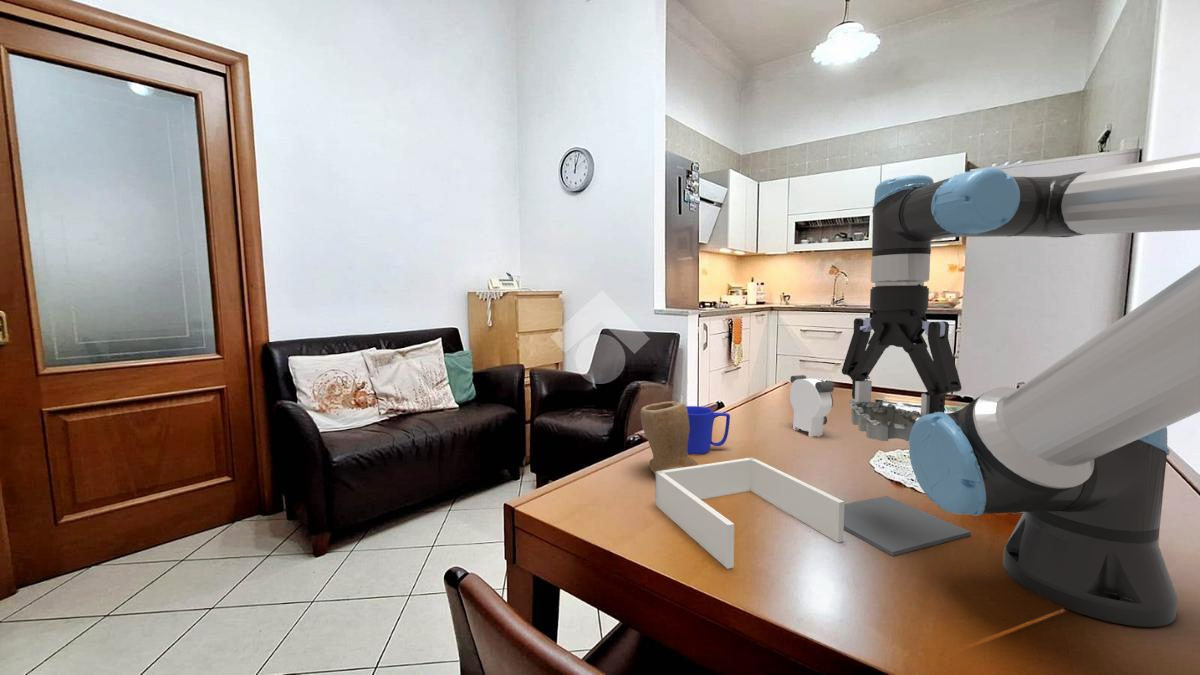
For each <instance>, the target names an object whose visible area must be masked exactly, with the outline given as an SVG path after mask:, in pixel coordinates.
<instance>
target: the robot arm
mask: <svg viewBox="0 0 1200 675" xmlns="http://www.w3.org/2000/svg"><path fill="white" fill-rule="evenodd" d="M873 202H874V203H873V206H872V210H871V212H872V234H871V236H872V237H871V238H872V241H871V242H872V243H871V252H872V254H871V255H872V256H871V266H870V268H871V269H870V282H871V283H872V284H874V286H872V287H871V288H870V292H869V293H870V296H869V298H870V299H869V309H870V310H872V315H871V317H870V318H869V317H859V318H854V320H853V332H852V333H853V334H852V336H851V340H850V343H849V346H848V348H847V349H848V350H847V352H846V356H845V359H844V362H843V365H842V368H841V373H842V374H843V375H844V376H845V375H847V376H848V377H849V378H850V379H851V381H852V382H851V383H852V385H851V397H852V399H853V400H854V401H855V402H862V401H864V402H872V385H873V384H872V383H873V382H872V380H868V379H871V377H870V374H871V372H872V371H873V369H874V368H875V366H876V365H877V363H878V361H879V360H880V358H881V357H882V355H883V354H884V352H885V351H886V349H888V348H889V347H890V346H894V347H897V348H902V350H903V351H905V353H907V354H908V356H909V358H910V360H911V362H912V363H913V366H914V367H915V369H916V372H917V373H918V375H919V378H920V379H921V381H922V384H923V385H924V388H925V389H926V391H925V392H924V393H921V400H920V401H921V402H920V403H921V404H920V413H921V416H922V417H920V418H917V419H916V422H915V423H914V425H913V427H912V429H911V432H910V437H909V441H908V446H909V448H908V449H909V450H908V454H909V460H910V464H911V468H912V471H913V474H914V476H915V479H916V481H917V483H918V485H919V486H920V488H921V489H922V492H924V494H925V495H926V497H927V498H928V499H929V500H930V501H931V502H933V503H934V504H936V505H937V506H938V507H939V509H941V510H944V511H945V512H948V513H949V514H950V513H951V514H955V515H956V514H957V515H969V516H973V517H978V516H979V517H980V516H981V515H990V514H1014V513H1016V514H1017V513H1022V514H1021V517H1020V519H1019V520H1018V522H1017V524H1016V525H1015V526H1014V529H1013V531H1012V533H1011V534H1010V536H1009V538H1008V540H1007V542H1006V544H1005V546H1004V547H1003V555H1002V567H1003V568H1004V570H1005V572H1006V573H1007V574H1008V575H1009V576H1010V577H1011V578H1012V579H1013V581H1014V580H1015V581H1016V582H1017V583H1018V584H1019V585H1021V586H1023V587H1024V588H1026V589H1028V590H1029V591H1031V592H1033V593H1034V594H1036V595H1038V596H1039V597H1043V598H1044V599H1047V600H1049V601H1051V602H1052V603H1055V604H1059V605H1060V606H1063V607H1064V609H1066V610H1069V611H1071V612H1075V613H1077V614H1081V615H1083V616H1084V615H1085V616H1088V617H1090V618H1095V619H1098V620H1100V621H1101V620H1102V621H1105V622H1109V623H1114V624H1121V625H1126V626H1133V627H1145V628H1151V627H1152V628H1153V627H1154V628H1155V627H1163V626H1167V625H1171V624H1172V623H1173V622H1174V621H1175V620H1176V619H1177V611H1178V610H1177V609H1178V595H1177V592H1176V589H1175V586H1174V583H1173V580H1172V578H1171V575H1170V572H1169V569H1168V567H1167V565H1166V564H1167V563H1166V562H1165V558H1164V556H1163V553H1162V551H1161V548H1160V545H1159V542H1160V540H1159V539H1160V527H1161V520H1162V519H1161V518H1162V511H1163V510H1162V509H1163V508H1162V507H1163V499H1164V498H1163V497H1164V489H1165V478H1166V467H1167V456H1169V455H1170V451H1171V450H1170V449H1169V448H1168V427H1169V426H1171V425H1173V424H1176V423H1178V422H1180V421H1182V420H1184V419H1186V418H1189V417H1191V416H1193V415H1196V414H1198V413H1200V264H1199V265H1198V266H1196V267H1194V268H1193V269H1192V270H1189V272H1187V273H1186V274H1184V275H1183V276H1181V277H1180V278H1178V279H1176V280H1175V281H1174V282H1172V283H1171V284H1170V285H1168V286H1167V287H1165V288H1163V289H1162V290H1161V291H1160V292H1158V293H1156V294H1155V295H1153V296H1152V297H1150V298H1149V299H1147V300H1145V302H1143V303H1141V304H1140V305H1138V306H1136V307H1135V308H1134V309H1132V310H1131V311H1129V312H1128V313H1126V314H1125V315H1124V316H1122V317H1121V318H1120V319H1118V320H1116V321H1115V322H1113V323H1112V324H1110V325H1109V326H1108V327H1106V328H1105V329H1103V330H1101V331H1100V332H1099V333H1097V334H1096V335H1094V336H1093V337H1092V338H1090V339H1089V340H1087V341H1085V342H1084V343H1082V344H1081V345H1080V346H1078V347H1076V348H1075V349H1074V350H1072V351H1071V352H1070V353H1068V354H1067V355H1065V356H1063V357H1061V359H1059V360H1058V361H1056V362H1055V363H1053V364H1051V366H1049V367H1047V368H1045V370H1043V371H1042V372H1040V373H1038V374H1037V375H1036V376H1034V377H1033V378H1031V379H1029V381H1027V382H1025V383H1024V384H1022V385H1021V386H1019V387H1018V388H1017V387H1009V386H1005V387H1003V386H1002V387H1001V386H1000V387H995V388H991V389H989V390H987V391H985V392H983V393H982V394H980V395H979V396H978V397H976V398H975V399H974V400H972V401H971V402H969V403H968V404H967V405H965V406H964V407H963V408H961V409H959V410H957V411H953V412H948V413H947V412H946V413H945V409H946V396H947V394H951V393H956V392H960V391H961V390H962V383H961V379H960V375H959V373H958V369H957V365H956V361H955V359H954V354H953V351H952V347H951V344H950V343H951V342H950V340H949V331H950V323H949V322H948V321H946V320H945V321H944V320H942V321H928V319H927V317H926V312H927V310H928V308H929V297H930V296H929V295H930V287H928V286H927V285H925V283H926V282H929V281H930V271H931V253H932V249H931V247H932V246H931V245H932V241H933V240H941V239H947V238H950V239H951V238H962V237H963V238H964V237H965V238H967V237H970V238H973V237H974V238H976V237H977V238H978V237H980V238H981V237H985V238H987V237H990V238H991V237H993V238H994V237H996V238H997V237H1007V238H1008V237H1038V238H1039V237H1044V238H1046V237H1047V238H1072V237H1077V236H1084V235H1104V234H1106V235H1107V234H1129V233H1131V234H1133V233H1156V232H1157V233H1158V232H1159V233H1160V232H1181V231H1200V152H1195V153H1191V154H1184V155H1178V156H1177V155H1176V156H1172V157H1166V158H1158V159H1153V160H1147V161H1141V162H1135V163H1129V164H1128V163H1127V164H1124V165H1116V166H1111V167H1106V168H1098V169H1091V170H1087V171H1081V172H1080V171H1079V172H1073V173H1068V174H1062V175H1061V174H1060V175H1052V176H1012V175H1010V174H1007V173H1006V172H1005V171H1004V170H1001V169H1000V168H996V167H995V168H994V167H987V168H980V169H976V170H968V171H964V172H961V173H959V174H955V175H953V176H951V177H948V178H946V179H942V180H939V181H937V182H934V180H933V178H932V177H930V176H928V175H921V174H915V175H904V176H902V175H901V176H898V177H895V178H888V179H885V180H883V181H881V182H880V183H879V184H877V186H876V187H875V191H874V200H873ZM872 331H873V333H872V334H871V332H872ZM923 334H924V335H926V336H927V342H926V340H925V339H924V336H923ZM927 343H928V344H927ZM928 347H929V350H930V352H929V350H928ZM930 353H931V354H930Z"/></svg>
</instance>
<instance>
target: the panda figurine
mask: <svg viewBox="0 0 1200 675" xmlns="http://www.w3.org/2000/svg"><path fill="white" fill-rule="evenodd" d="M789 380H790V383H791V386H790V389H789V399H790V400H789V401H790V405H791V407H792V409H793V423H792V424H793V425H792V430H793V429H794V430H796V431H803V432H808V437H809V436H810V437H809V438H813V437H812V436H817V437H822V436H823V432H824V426H825V425H826V424H827V423H828V418H827V416H828V414H829V413H830V411H831V410H832V408H833V406H834V398H833V395H832V393H833V391H834V389H835V388H834V387H835V386H834V383H833V382H832V381H829V380H828V381H822V380H820V379H817V378H807V376H806V375H803V374H801V375H799V374H798V375H791V376H790V379H789ZM831 392H832V393H831ZM799 429H801V430H799ZM794 430H793V431H794ZM821 435H822V436H821Z"/></svg>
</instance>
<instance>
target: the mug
mask: <svg viewBox="0 0 1200 675" xmlns="http://www.w3.org/2000/svg"><path fill="white" fill-rule="evenodd" d="M685 406H686V405H685ZM686 408H687V410H688V418H689V426H690V431H689V438H688V446H687V453H689V454H688V455H691V454H702V455H705V454H704V453H706V454H708V453H709V452H710V449H711V445H712V446H715V447H721V446H723V445H724V444H725V443H726V441H727V439H728V435H729V430H730V421H731V415H730V414H729V413H727V412H714V410H713V409H712V408H711V407H710V408H709V407H705V406H700V405H699V406H697V405H689V406H688V405H687V406H686ZM716 417H726V420H725V428H724V434H723V436H722V439H721V440H720V441H718V442H715V441H712V440H713V429H714V427H713V426H714V422H715V419H716ZM707 452H708V453H707Z"/></svg>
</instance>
